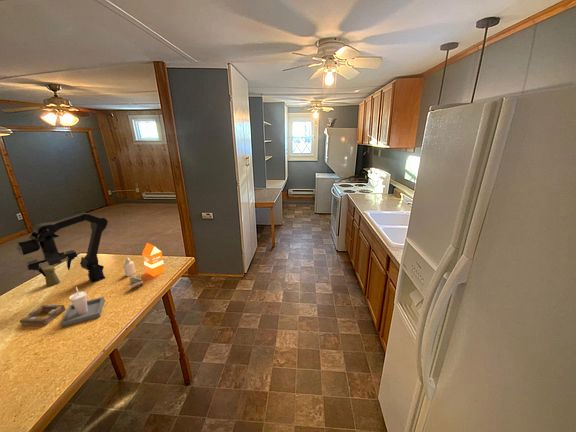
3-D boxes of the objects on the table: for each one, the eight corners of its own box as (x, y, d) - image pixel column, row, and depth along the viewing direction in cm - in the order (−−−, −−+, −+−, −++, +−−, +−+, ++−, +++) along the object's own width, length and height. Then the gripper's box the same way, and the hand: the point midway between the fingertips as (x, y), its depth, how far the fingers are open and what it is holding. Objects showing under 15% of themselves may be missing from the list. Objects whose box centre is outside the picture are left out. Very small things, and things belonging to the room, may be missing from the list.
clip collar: (44, 309, 118) (42, 303, 117) (65, 310, 118) (63, 303, 117) (21, 325, 108) (19, 319, 107) (45, 325, 108) (42, 319, 107)
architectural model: (144, 286, 138) (142, 276, 136) (130, 292, 133) (128, 281, 131) (142, 284, 140) (140, 273, 138) (129, 289, 135) (126, 278, 133)
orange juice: (153, 277, 147) (148, 248, 141) (145, 272, 152) (140, 244, 146) (165, 271, 154) (160, 243, 147) (157, 267, 158) (152, 240, 152)
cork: (51, 287, 136) (45, 270, 133) (43, 285, 137) (37, 269, 134) (63, 281, 142) (57, 265, 138) (55, 280, 143) (49, 264, 140)
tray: (70, 309, 119) (69, 305, 118) (104, 300, 125) (103, 296, 125) (62, 327, 107) (60, 323, 107) (100, 316, 114) (99, 312, 113)
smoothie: (94, 306, 119) (87, 283, 115) (86, 315, 113) (78, 291, 109) (80, 308, 118) (72, 284, 114) (71, 317, 112) (62, 292, 108)
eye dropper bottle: (125, 273, 150) (121, 257, 147) (135, 271, 154) (132, 254, 150) (125, 276, 147) (121, 259, 143) (136, 274, 150) (132, 257, 146)
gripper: (24, 258, 110) (35, 287, 115) (76, 245, 124) (83, 271, 129) (21, 251, 117) (32, 278, 121) (71, 240, 131) (78, 264, 135)
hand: (57, 273), depth 127 cm, fingers open, 9 cm apart
